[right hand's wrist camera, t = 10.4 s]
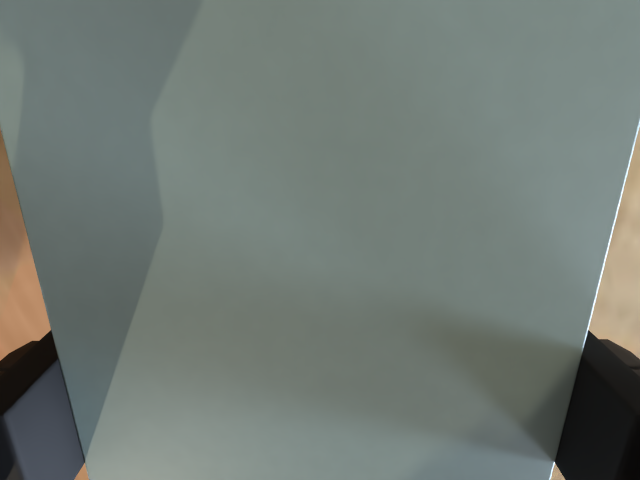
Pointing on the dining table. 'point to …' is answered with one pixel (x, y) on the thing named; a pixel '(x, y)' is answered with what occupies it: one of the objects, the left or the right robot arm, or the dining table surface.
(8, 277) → the dining table surface
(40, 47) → the cabinet
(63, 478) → the right robot arm
